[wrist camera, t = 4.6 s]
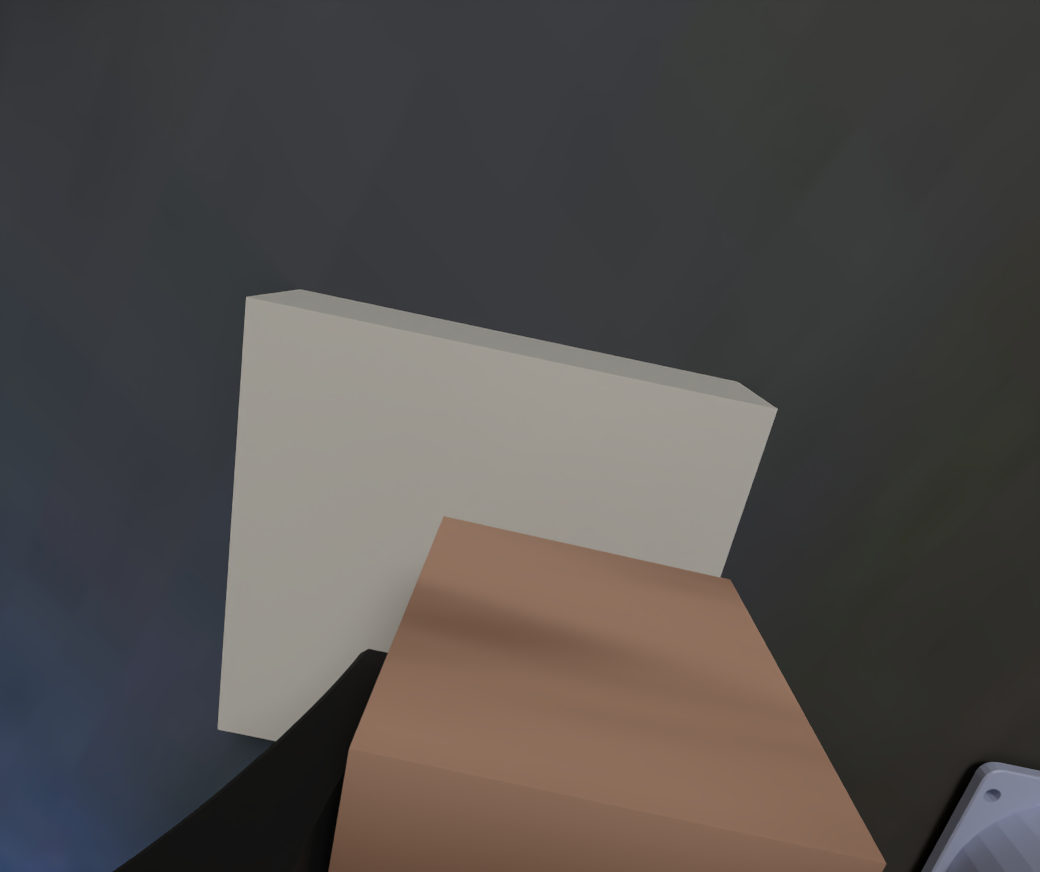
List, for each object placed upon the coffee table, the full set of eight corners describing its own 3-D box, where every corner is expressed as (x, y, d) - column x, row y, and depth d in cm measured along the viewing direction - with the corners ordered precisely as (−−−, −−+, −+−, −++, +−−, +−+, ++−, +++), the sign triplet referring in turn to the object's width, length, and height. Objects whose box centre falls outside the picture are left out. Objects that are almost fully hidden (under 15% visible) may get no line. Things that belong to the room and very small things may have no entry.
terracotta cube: (648, 800, 12) (716, 1176, 7) (398, 746, 12) (292, 1088, 7) (729, 579, 10) (886, 863, 5) (443, 516, 10) (349, 747, 5)
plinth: (626, 733, 20) (638, 814, 17) (266, 659, 20) (217, 729, 17) (737, 381, 16) (777, 409, 13) (300, 289, 16) (246, 296, 13)
